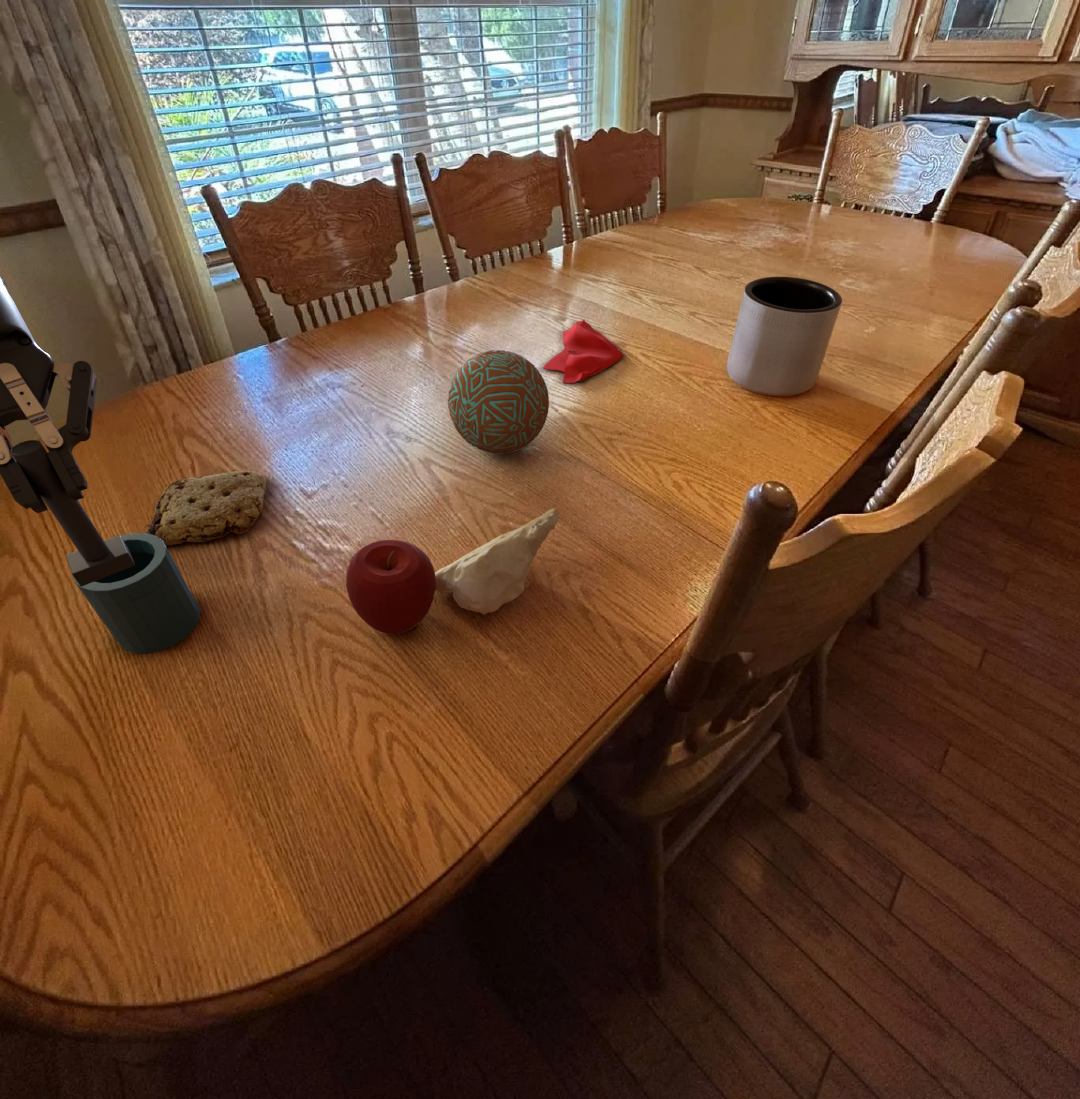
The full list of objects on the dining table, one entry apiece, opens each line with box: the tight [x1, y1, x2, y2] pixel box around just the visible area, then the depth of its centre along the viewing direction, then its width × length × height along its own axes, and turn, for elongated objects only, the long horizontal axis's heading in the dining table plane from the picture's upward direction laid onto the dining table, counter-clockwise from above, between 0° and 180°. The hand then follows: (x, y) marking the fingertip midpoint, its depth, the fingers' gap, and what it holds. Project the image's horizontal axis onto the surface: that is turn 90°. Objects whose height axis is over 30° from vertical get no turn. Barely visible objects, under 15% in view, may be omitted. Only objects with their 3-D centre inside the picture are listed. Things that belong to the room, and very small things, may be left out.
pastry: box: [145, 469, 267, 547], centre depth 86 cm, size 17×17×3 cm
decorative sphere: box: [447, 349, 550, 455], centre depth 94 cm, size 15×15×15 cm
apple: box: [345, 539, 436, 635], centre depth 69 cm, size 10×10×10 cm
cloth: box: [542, 319, 624, 384], centre depth 122 cm, size 26×14×2 cm, turn 164°
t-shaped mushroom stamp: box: [11, 439, 135, 587], centre depth 52 cm, size 4×3×13 cm
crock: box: [72, 532, 201, 655], centre depth 68 cm, size 9×9×10 cm
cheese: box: [435, 507, 561, 615], centre depth 74 cm, size 15×7×15 cm
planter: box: [726, 276, 843, 397], centre depth 110 cm, size 16×16×16 cm
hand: (59, 502), depth 49 cm, fingers closed on t-shaped mushroom stamp, 2 cm apart
